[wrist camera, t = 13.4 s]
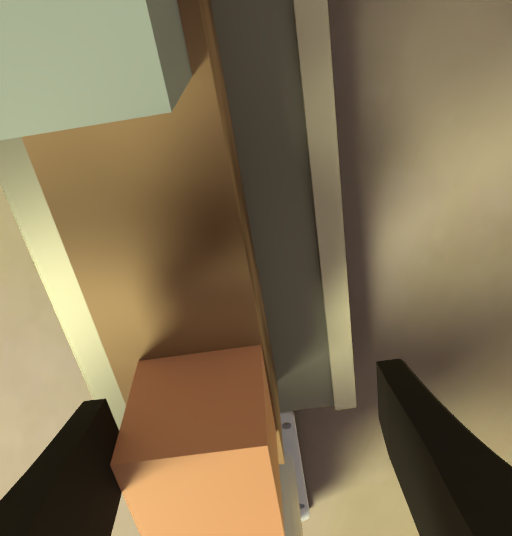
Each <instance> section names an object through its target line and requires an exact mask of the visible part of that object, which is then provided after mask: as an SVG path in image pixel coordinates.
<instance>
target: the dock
mask: <svg viewBox="0 0 512 536" xmlns="http://www.w3.org/2000/svg"><path fill="white" fill-rule="evenodd" d="M210 1H211V7H212V13H213V18H214V24H215V30H216V36H217V41H218V47H219V53H220V58H221V64H222V70H223V75H224V81H225V87H226V93H227V98H228V104H229V110H230V115H231V121H232V127H233V132H234V138H235V144H236V150H237V155H238V161H239V167H240V172H241V178H242V184H243V190H244V195H245V201H246V207H247V212H248V218H249V224H250V229H251V235H252V241H253V247H254V252H255V258H256V264H257V269H258V275H259V281H260V286H261V292H262V298H263V304H264V309H265V315H266V321H267V326H268V332H269V338H270V344H271V349H272V355H273V361H274V366H275V372H276V378H277V385H278V396H279V407H280V413H283V412H290V411H298V410H306V409H313V408H321V407H328V406H334V407H335V410H343V409H350V408H357V405H356V391H355V378H354V364H353V350H352V336H351V322H350V308H349V294H348V280H347V266H346V252H345V238H344V224H343V210H342V196H341V182H340V168H339V154H338V140H337V126H336V112H335V98H334V85H333V71H332V57H331V43H330V29H329V15H328V1H327V0H210ZM0 185H1V187H2V189H3V192H4V194H5V196H6V199H7V201H8V203H9V206H10V208H11V210H12V213H13V215H14V217H15V220H16V222H17V224H18V227H19V229H20V231H21V233H22V236H23V238H24V240H25V243H26V245H27V247H28V250H29V252H30V254H31V257H32V259H33V261H34V264H35V266H36V268H37V271H38V273H39V275H40V277H41V280H42V282H43V284H44V287H45V289H46V291H47V294H48V296H49V298H50V301H51V303H52V305H53V308H54V310H55V312H56V315H57V317H58V319H59V321H60V324H61V326H62V328H63V331H64V333H65V335H66V338H67V340H68V342H69V345H70V347H71V349H72V352H73V354H74V356H75V359H76V361H77V363H78V365H79V368H80V370H81V372H82V375H83V377H84V379H85V382H86V384H87V386H88V389H89V391H90V393H91V396H92V398H93V400H97V399H105V398H106V400H107V402H108V405H109V407H110V410H111V412H112V414H113V417H114V419H115V422H116V424H117V427H118V429H119V430H120V427H121V423H122V419H123V416H124V412H125V408H126V404H125V402H124V399H123V397H122V394H121V392H120V389H119V386H118V384H117V381H116V379H115V376H114V374H113V371H112V368H111V366H110V363H109V361H108V358H107V356H106V353H105V351H104V348H103V345H102V343H101V340H100V338H99V335H98V333H97V330H96V327H95V325H94V322H93V320H92V317H91V315H90V312H89V309H88V307H87V304H86V302H85V299H84V297H83V294H82V292H81V289H80V286H79V284H78V281H77V279H76V276H75V274H74V271H73V268H72V266H71V263H70V261H69V258H68V256H67V253H66V251H65V248H64V245H63V243H62V240H61V238H60V235H59V233H58V230H57V227H56V225H55V222H54V220H53V217H52V215H51V212H50V209H49V207H48V204H47V202H46V199H45V197H44V194H43V192H42V189H41V186H40V184H39V181H38V179H37V176H36V174H35V171H34V168H33V166H32V163H31V161H30V158H29V156H28V153H27V151H26V148H25V145H24V143H23V140H22V138H21V137H18V138H12V139H6V140H0Z"/></svg>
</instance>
